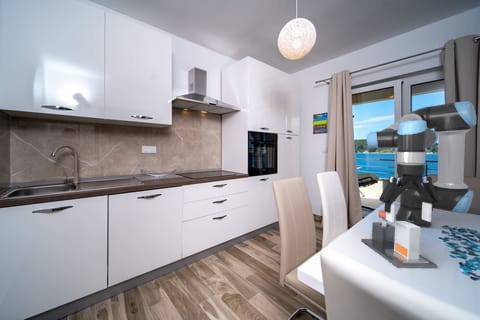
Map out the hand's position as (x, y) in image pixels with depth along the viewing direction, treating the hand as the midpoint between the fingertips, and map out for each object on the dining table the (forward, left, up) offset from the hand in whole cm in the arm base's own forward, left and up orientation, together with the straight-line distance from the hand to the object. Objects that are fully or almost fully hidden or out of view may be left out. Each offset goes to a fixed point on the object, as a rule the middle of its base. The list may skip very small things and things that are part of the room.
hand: (408, 220), depth 68 cm
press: (0, -5, -15) cm, 16 cm away
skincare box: (0, 0, -13) cm, 13 cm away
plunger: (0, -10, -11) cm, 15 cm away
